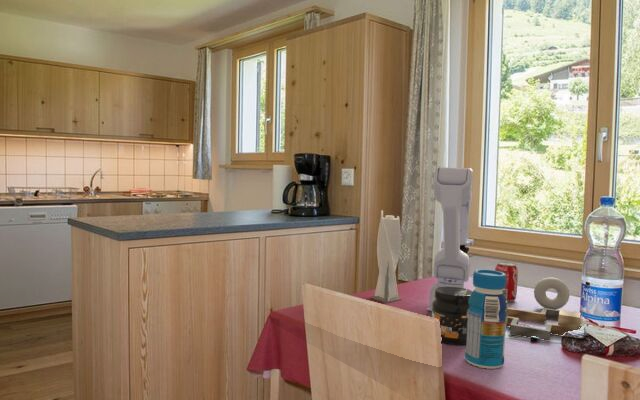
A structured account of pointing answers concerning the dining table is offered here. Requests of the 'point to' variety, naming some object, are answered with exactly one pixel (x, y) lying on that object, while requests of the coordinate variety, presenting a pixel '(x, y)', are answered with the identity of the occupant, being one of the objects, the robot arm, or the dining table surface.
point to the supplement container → (452, 313)
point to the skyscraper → (388, 258)
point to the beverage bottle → (487, 320)
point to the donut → (555, 284)
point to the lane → (536, 317)
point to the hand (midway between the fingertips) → (456, 269)
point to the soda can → (509, 279)
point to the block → (569, 318)
